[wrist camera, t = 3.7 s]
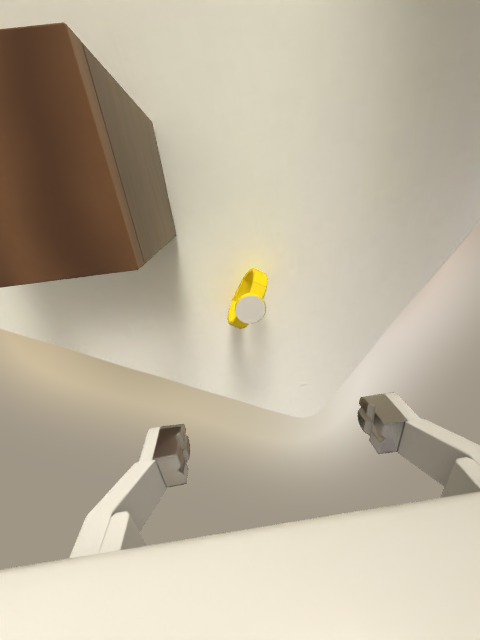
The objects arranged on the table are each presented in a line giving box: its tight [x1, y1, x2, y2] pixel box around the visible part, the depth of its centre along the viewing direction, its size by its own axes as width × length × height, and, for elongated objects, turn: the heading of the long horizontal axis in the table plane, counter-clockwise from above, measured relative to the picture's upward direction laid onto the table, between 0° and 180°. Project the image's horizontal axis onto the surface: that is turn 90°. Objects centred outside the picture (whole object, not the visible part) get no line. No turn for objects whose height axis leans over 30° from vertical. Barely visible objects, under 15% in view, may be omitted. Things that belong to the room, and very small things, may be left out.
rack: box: [0, 23, 176, 287], centre depth 16 cm, size 14×9×13 cm, turn 96°
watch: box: [228, 268, 267, 329], centre depth 25 cm, size 6×3×6 cm, turn 154°
